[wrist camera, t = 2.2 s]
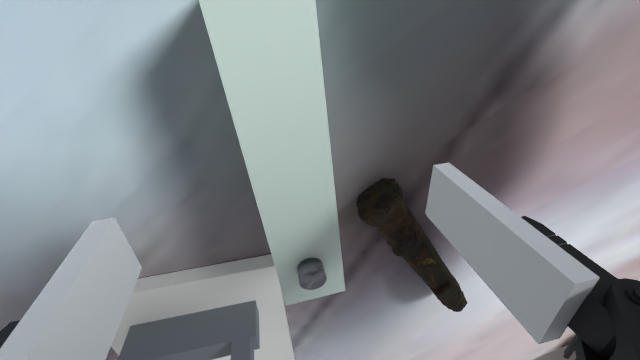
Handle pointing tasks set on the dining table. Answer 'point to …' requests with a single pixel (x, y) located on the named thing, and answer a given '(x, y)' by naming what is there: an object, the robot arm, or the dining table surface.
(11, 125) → the dining table surface
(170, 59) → the dining table surface
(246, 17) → the tapered bar with knob
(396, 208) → the hand tool
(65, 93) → the dining table surface
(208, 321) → the clip rack
